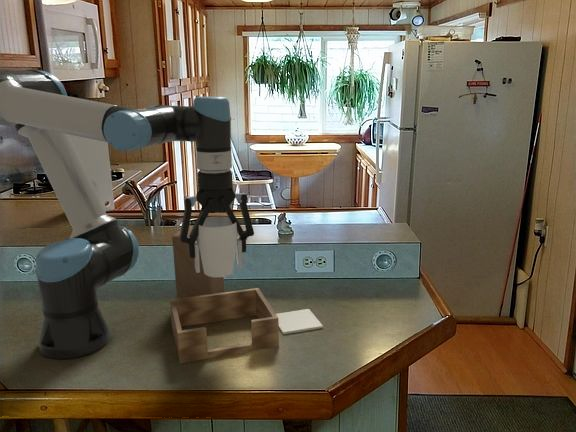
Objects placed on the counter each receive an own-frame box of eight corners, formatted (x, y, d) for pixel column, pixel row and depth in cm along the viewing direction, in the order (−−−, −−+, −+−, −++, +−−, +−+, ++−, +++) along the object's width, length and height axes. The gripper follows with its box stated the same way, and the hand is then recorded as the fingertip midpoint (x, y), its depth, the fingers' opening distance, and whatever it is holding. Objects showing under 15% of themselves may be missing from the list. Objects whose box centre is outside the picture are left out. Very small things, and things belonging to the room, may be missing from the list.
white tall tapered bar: (102, 204, 252) (93, 120, 242) (114, 209, 242) (105, 122, 231) (59, 211, 239) (48, 123, 229) (70, 217, 229) (59, 125, 219)
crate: (180, 363, 112) (177, 333, 110) (172, 326, 128) (169, 299, 126) (279, 346, 118) (278, 317, 116) (259, 313, 134) (258, 287, 133)
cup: (215, 262, 125) (213, 214, 122) (246, 269, 120) (245, 219, 117) (190, 275, 117) (187, 223, 114) (222, 282, 113) (220, 229, 110)
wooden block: (212, 311, 136) (208, 237, 131) (176, 308, 138) (171, 235, 133) (225, 295, 146) (221, 226, 140) (191, 293, 147) (186, 225, 142)
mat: (283, 334, 123) (283, 332, 123) (271, 316, 132) (271, 314, 132) (322, 328, 126) (322, 325, 126) (308, 310, 135) (308, 308, 135)
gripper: (164, 176, 106) (171, 279, 112) (267, 170, 112) (269, 268, 118) (161, 169, 113) (168, 267, 119) (259, 164, 119) (260, 257, 125)
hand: (218, 268), depth 119 cm, fingers closed on cup, 9 cm apart
